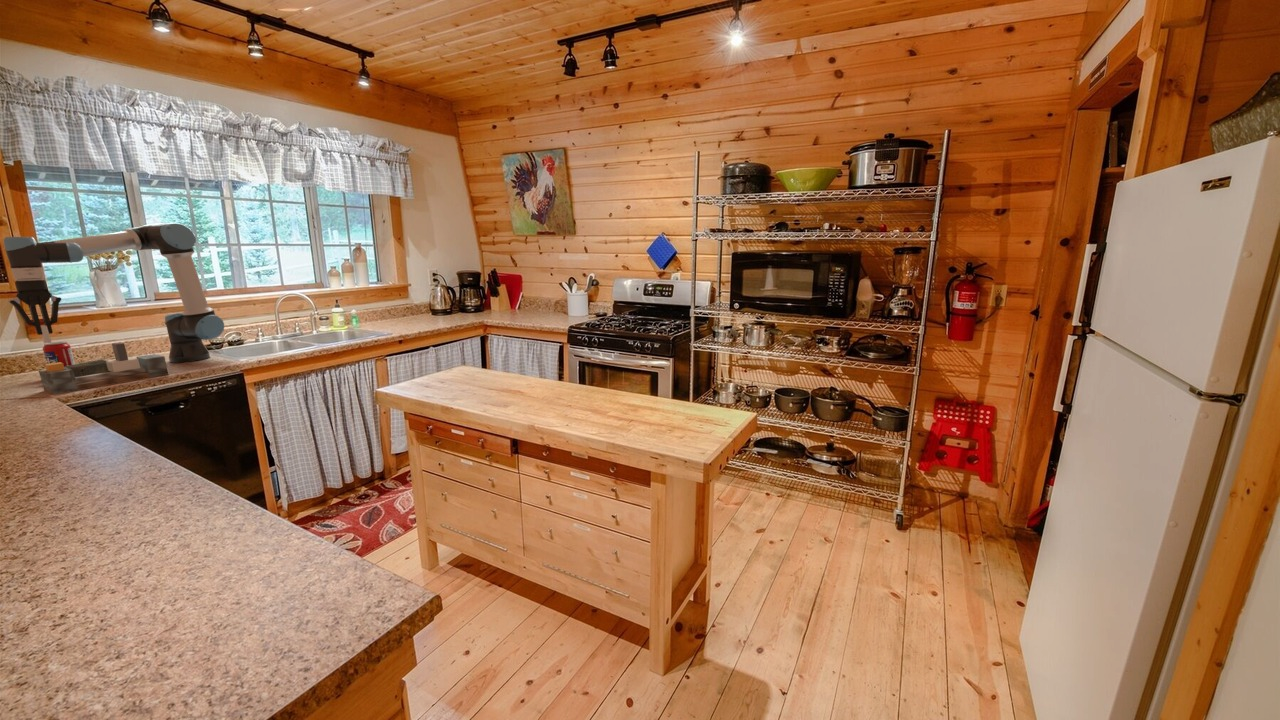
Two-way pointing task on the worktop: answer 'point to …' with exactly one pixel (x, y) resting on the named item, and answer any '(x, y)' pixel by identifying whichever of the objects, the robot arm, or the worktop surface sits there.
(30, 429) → the worktop surface
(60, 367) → the plunger
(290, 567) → the worktop surface
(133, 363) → the carriage
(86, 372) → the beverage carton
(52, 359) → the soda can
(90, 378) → the rail stand
